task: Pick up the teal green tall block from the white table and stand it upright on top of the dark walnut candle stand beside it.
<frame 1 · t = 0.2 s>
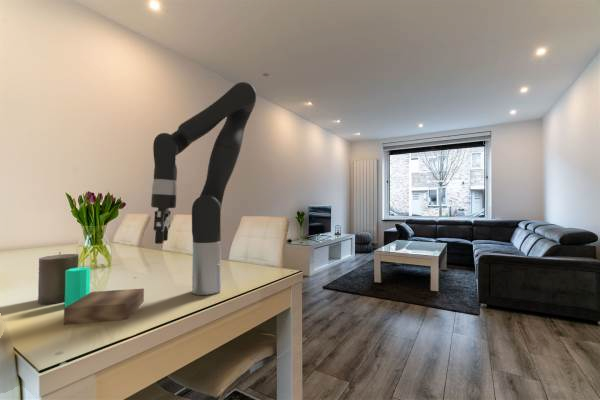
hand: (161, 242, 92), 18 cm above the table, tool pointing down, fingers open, 8 cm apart
pillar candle: (58, 300, 88), on the table
walnut stand: (108, 311, 77), on the table
teal green tall block: (77, 304, 84), on the table
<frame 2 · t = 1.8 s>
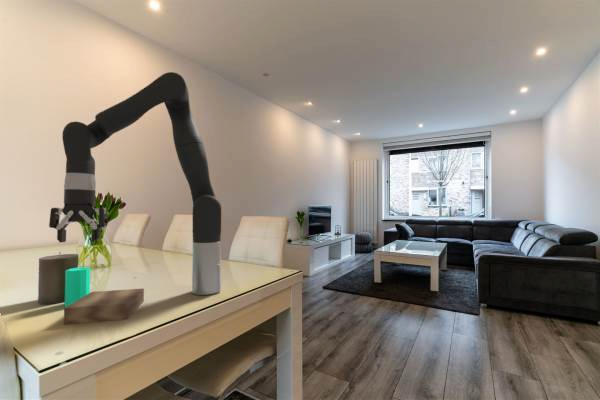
hand: (78, 241, 84), 19 cm above the table, tool pointing down, fingers open, 8 cm apart
nothing on the table moved.
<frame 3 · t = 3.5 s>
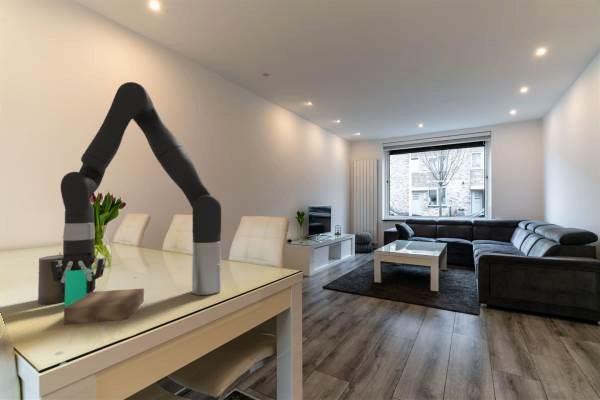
hand: (78, 293, 84), 3 cm above the table, tool pointing down, fingers closed on teal green tall block, 5 cm apart
teal green tall block: (77, 304, 84), on the table, touching gripper
everything else where it was.
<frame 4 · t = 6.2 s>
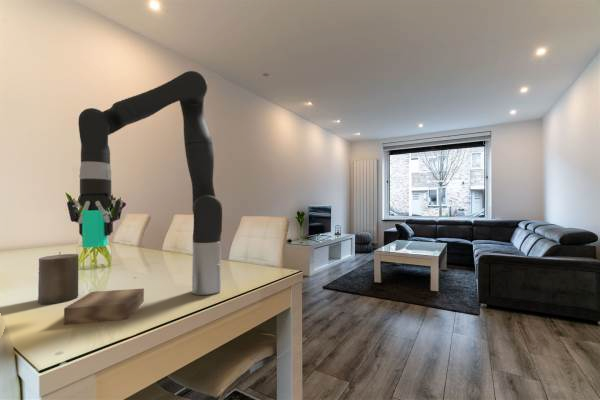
hand: (96, 235, 81), 21 cm above the table, tool pointing down, fingers closed on teal green tall block, 5 cm apart
teal green tall block: (95, 246, 81), point 18 cm above the table, touching gripper
everything else where it was.
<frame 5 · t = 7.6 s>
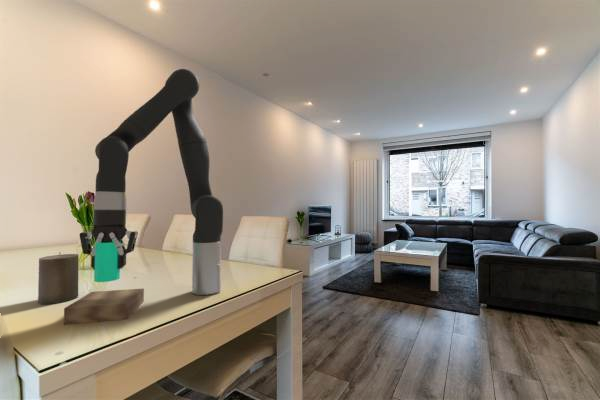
hand: (108, 268, 77), 12 cm above the table, tool pointing down, fingers closed on teal green tall block, 5 cm apart
teal green tall block: (107, 280, 77), point 9 cm above the table, touching gripper
everything else where it was.
when the fingers open (8 cm above the table, at t = 8.8 s): teal green tall block drops 1 cm, resting on walnut stand.
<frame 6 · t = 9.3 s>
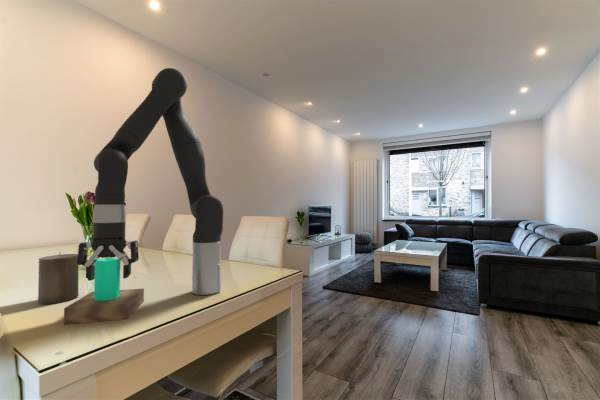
hand: (108, 278, 77), 9 cm above the table, tool pointing down, fingers open, 8 cm apart
teal green tall block: (107, 298, 77), point 4 cm above the table, touching walnut stand
everything else where it was.
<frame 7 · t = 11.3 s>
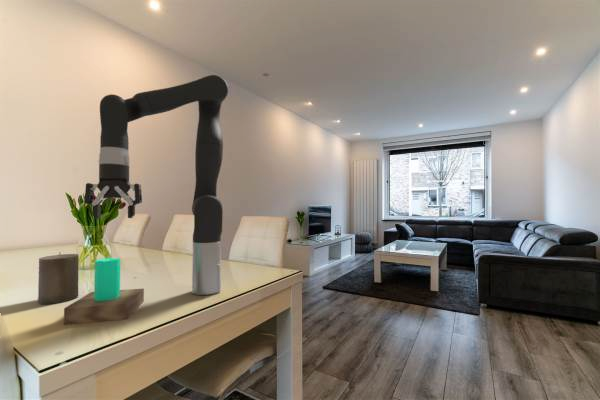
hand: (114, 218, 82), 26 cm above the table, tool pointing down, fingers open, 8 cm apart
nothing on the table moved.
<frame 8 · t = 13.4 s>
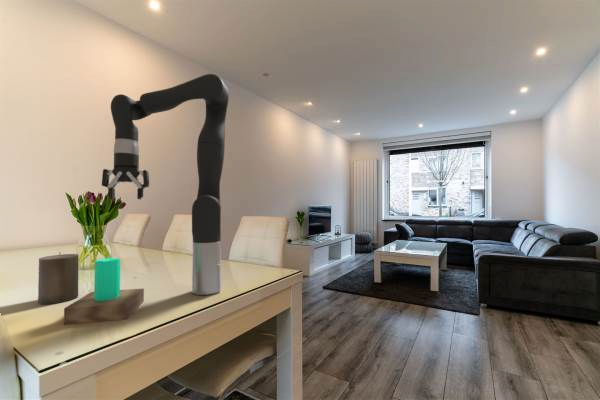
hand: (125, 199, 98), 32 cm above the table, tool pointing down, fingers open, 8 cm apart
nothing on the table moved.
at the end: teal green tall block 0.3 cm off-centre on the walnut stand, point 3.8 cm above the walnut stand's base; teal green tall block tilted 0°; the gripper is holding nothing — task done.
